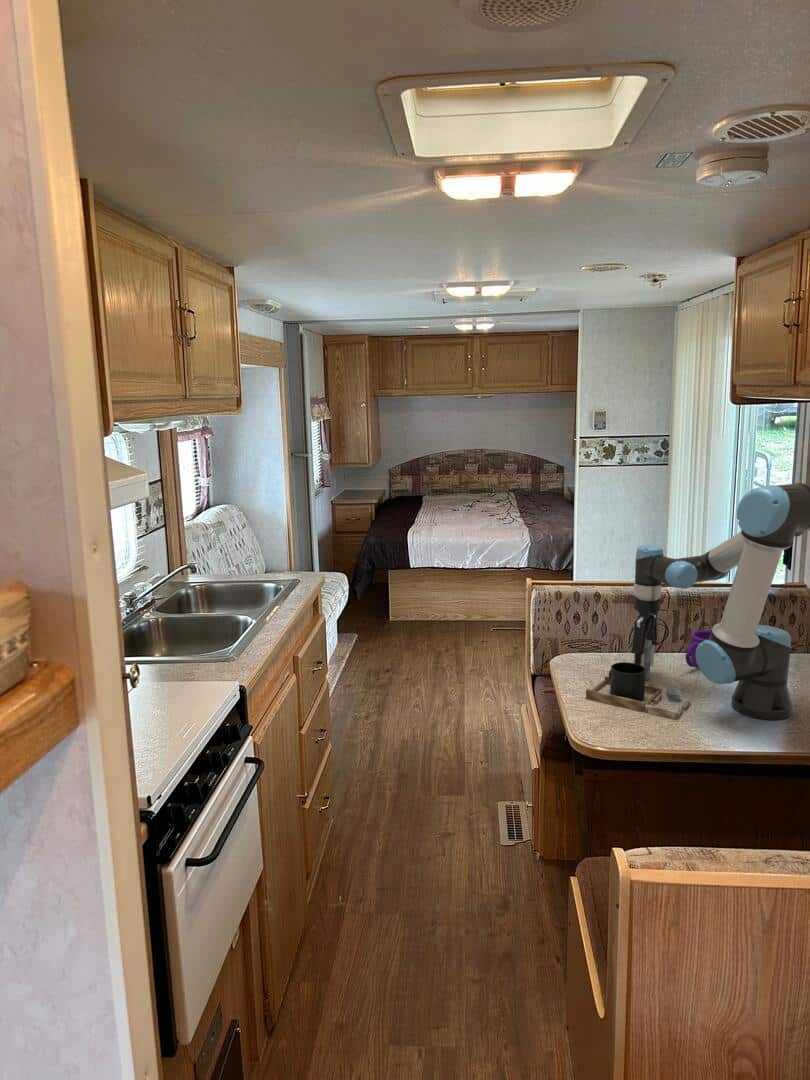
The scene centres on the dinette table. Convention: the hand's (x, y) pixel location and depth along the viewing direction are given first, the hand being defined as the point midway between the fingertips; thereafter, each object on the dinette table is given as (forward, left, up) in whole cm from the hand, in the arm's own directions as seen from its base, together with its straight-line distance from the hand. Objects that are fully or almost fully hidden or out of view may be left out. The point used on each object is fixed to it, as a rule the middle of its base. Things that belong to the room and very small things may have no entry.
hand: (643, 669), depth 233 cm
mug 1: (0, +17, -3) cm, 17 cm away
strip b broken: (-13, +16, -3) cm, 21 cm away
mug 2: (-12, -20, -3) cm, 24 cm away
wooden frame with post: (0, +11, -3) cm, 12 cm away
